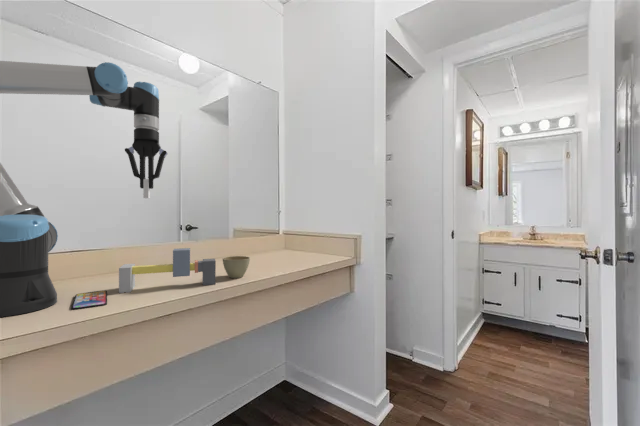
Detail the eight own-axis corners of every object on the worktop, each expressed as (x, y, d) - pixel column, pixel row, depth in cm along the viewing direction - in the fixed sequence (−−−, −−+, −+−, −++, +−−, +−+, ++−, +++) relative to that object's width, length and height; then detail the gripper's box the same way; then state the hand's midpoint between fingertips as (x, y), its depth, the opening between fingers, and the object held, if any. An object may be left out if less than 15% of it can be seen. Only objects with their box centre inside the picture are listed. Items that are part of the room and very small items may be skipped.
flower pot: (242, 280, 107) (242, 260, 107) (217, 278, 109) (217, 259, 109) (254, 274, 117) (254, 256, 117) (230, 273, 119) (230, 255, 119)
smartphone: (70, 308, 74) (75, 293, 87) (70, 312, 74) (75, 297, 87) (107, 303, 79) (106, 290, 91) (107, 307, 79) (106, 293, 91)
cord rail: (118, 293, 90) (118, 266, 90) (124, 287, 96) (124, 262, 96) (215, 285, 100) (215, 261, 100) (214, 280, 107) (214, 258, 107)
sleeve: (172, 277, 96) (172, 250, 96) (173, 273, 101) (174, 248, 101) (189, 275, 98) (189, 250, 98) (190, 272, 103) (190, 248, 103)
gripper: (121, 125, 98) (121, 197, 98) (166, 128, 102) (166, 198, 102) (127, 130, 105) (128, 198, 105) (169, 134, 109) (169, 198, 109)
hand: (146, 198), depth 104 cm, fingers closed
